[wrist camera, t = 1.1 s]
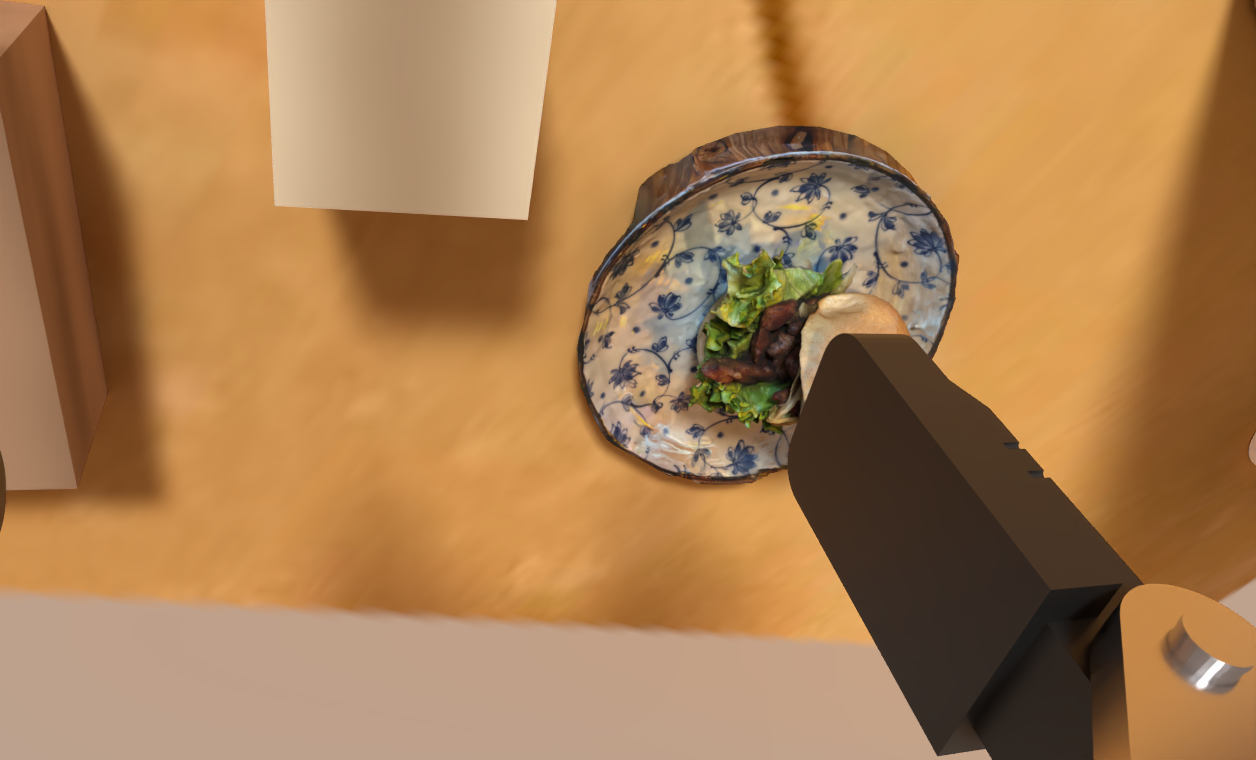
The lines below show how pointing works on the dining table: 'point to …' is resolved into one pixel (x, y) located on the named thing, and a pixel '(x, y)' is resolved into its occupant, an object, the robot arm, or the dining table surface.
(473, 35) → the oak block
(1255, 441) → the dixie cup
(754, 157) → the burger
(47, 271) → the walnut block
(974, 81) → the dining table surface
